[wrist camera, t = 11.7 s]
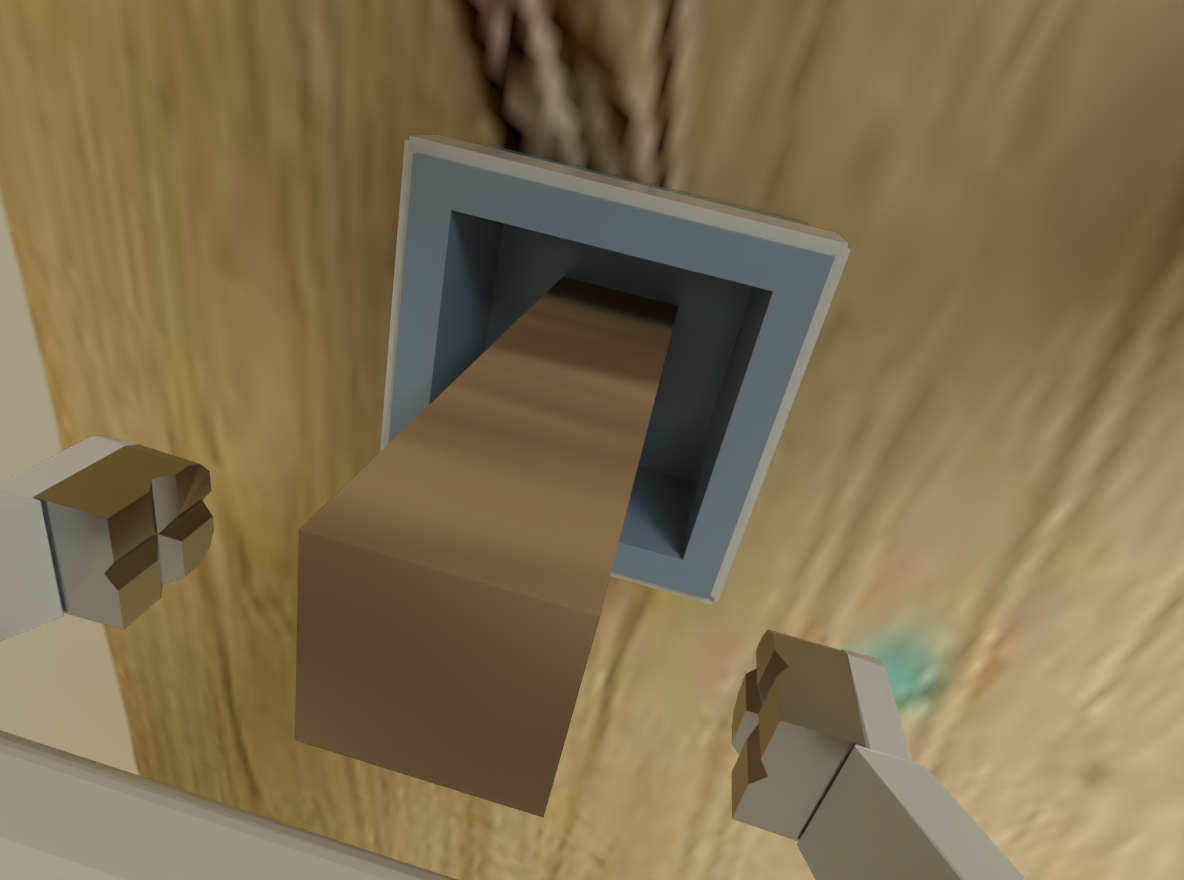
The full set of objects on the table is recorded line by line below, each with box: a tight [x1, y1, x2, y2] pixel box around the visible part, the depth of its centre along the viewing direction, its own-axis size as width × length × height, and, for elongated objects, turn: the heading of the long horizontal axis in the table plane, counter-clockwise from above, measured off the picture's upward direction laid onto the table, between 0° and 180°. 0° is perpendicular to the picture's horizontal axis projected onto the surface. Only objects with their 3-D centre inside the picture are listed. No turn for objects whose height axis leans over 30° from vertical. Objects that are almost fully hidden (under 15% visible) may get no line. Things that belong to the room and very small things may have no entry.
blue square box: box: [380, 134, 851, 605], centre depth 19 cm, size 10×10×6 cm
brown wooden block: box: [295, 276, 678, 817], centre depth 15 cm, size 4×4×14 cm
